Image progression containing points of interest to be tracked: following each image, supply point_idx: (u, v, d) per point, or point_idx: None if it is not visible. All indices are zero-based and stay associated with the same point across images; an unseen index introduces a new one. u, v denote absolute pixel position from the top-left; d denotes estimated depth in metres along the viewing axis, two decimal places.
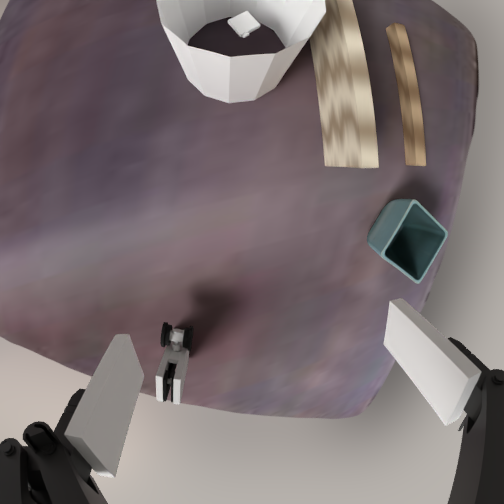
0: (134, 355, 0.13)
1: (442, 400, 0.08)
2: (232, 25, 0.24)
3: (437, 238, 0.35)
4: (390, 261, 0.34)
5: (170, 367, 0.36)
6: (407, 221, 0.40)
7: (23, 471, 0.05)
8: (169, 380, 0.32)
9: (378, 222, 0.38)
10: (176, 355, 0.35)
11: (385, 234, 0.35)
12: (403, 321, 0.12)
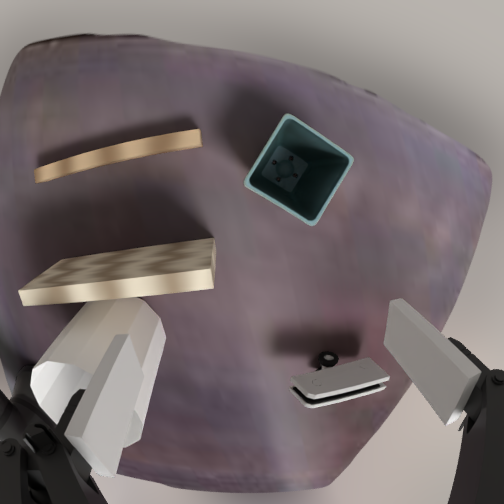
0: (134, 355, 0.13)
1: (442, 400, 0.08)
2: None
3: (294, 125, 0.28)
4: (322, 210, 0.29)
5: None
6: (274, 144, 0.34)
7: (23, 471, 0.05)
8: None
9: (276, 196, 0.34)
10: None
11: None
12: (403, 321, 0.12)
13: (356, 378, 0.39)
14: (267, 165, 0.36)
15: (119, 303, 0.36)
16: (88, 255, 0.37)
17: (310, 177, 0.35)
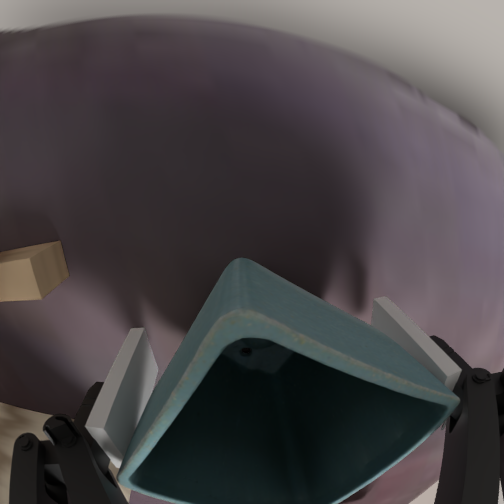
0: (149, 348, 0.13)
1: None
2: None
3: None
4: (334, 503, 0.08)
5: None
6: None
7: (40, 466, 0.05)
8: None
9: None
10: None
11: None
12: (386, 319, 0.12)
13: None
14: None
15: None
16: None
17: None
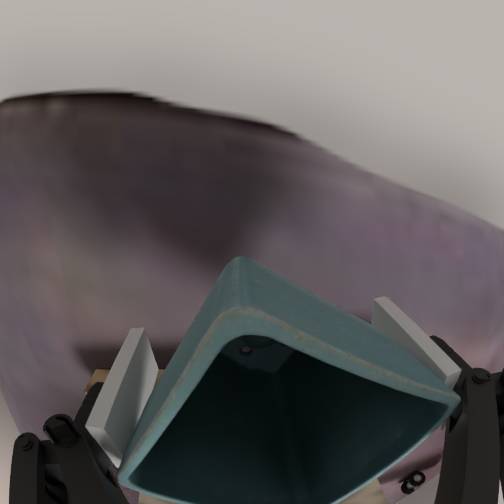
0: (149, 348, 0.13)
1: None
2: None
3: None
4: (334, 503, 0.08)
5: None
6: None
7: (40, 466, 0.05)
8: None
9: None
10: None
11: None
12: (386, 318, 0.12)
13: None
14: None
15: None
16: None
17: None
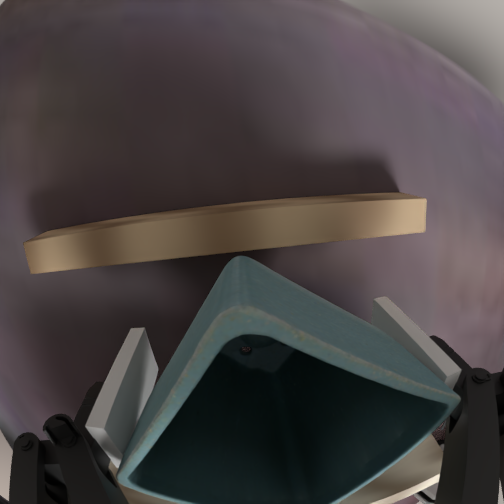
0: (149, 348, 0.13)
1: None
2: None
3: None
4: (334, 502, 0.08)
5: None
6: None
7: (40, 466, 0.05)
8: None
9: None
10: None
11: None
12: (386, 318, 0.12)
13: None
14: None
15: None
16: None
17: None
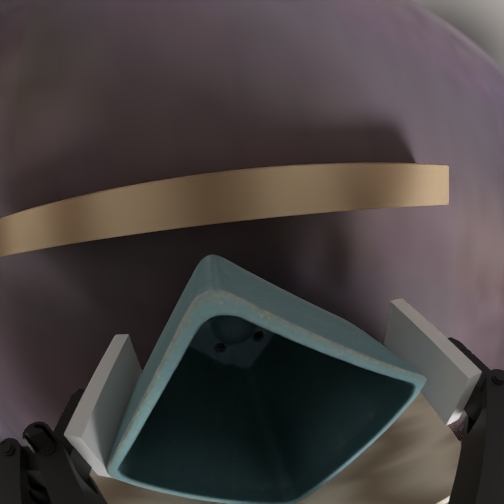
0: (134, 355, 0.13)
1: (442, 400, 0.08)
2: None
3: None
4: (317, 487, 0.09)
5: None
6: None
7: (23, 471, 0.05)
8: None
9: None
10: None
11: None
12: (403, 321, 0.12)
13: None
14: None
15: None
16: None
17: (293, 350, 0.15)
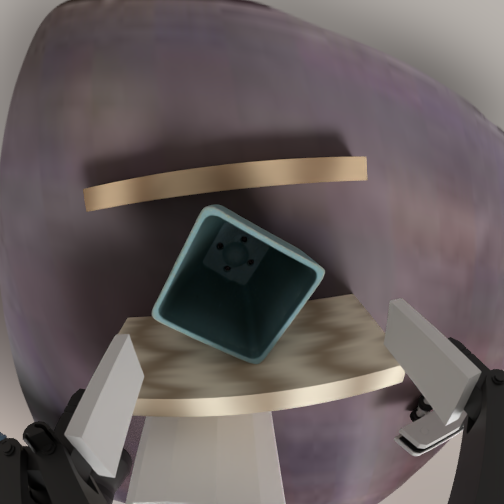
0: (134, 355, 0.13)
1: (442, 400, 0.08)
2: None
3: None
4: (270, 346, 0.20)
5: None
6: (215, 225, 0.24)
7: (23, 471, 0.05)
8: None
9: None
10: None
11: None
12: (403, 321, 0.12)
13: None
14: (210, 250, 0.26)
15: None
16: None
17: (270, 269, 0.25)
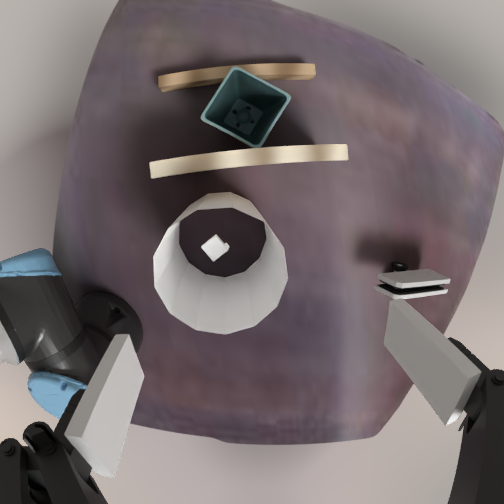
0: (134, 355, 0.13)
1: (442, 400, 0.08)
2: None
3: (242, 75, 0.33)
4: (265, 137, 0.35)
5: None
6: (232, 97, 0.39)
7: (23, 471, 0.05)
8: None
9: None
10: None
11: None
12: (403, 321, 0.12)
13: (426, 277, 0.45)
14: (228, 114, 0.41)
15: (234, 195, 0.42)
16: None
17: (263, 121, 0.40)
